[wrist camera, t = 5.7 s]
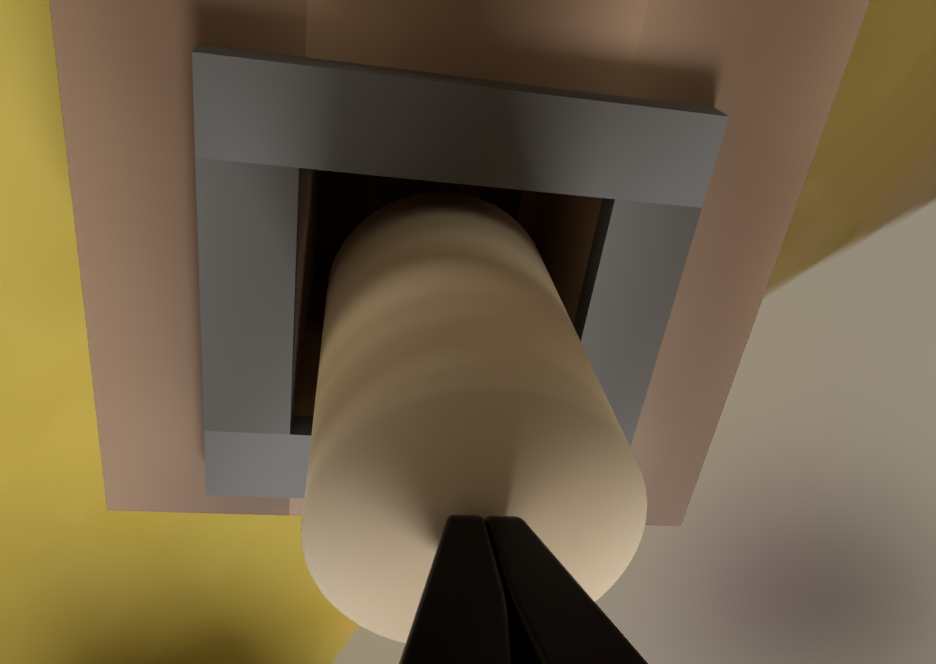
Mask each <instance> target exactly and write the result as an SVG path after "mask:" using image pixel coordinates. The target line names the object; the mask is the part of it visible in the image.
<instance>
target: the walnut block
mask: <svg viewBox="0 0 936 664" xmlns="http://www.w3.org/2000/svg"><path fill="white" fill-rule="evenodd" d="M49 1H50V10H51V19H52V28H53V37H54V45H55V54H56V63H57V72H58V81H59V90H60V98H61V107H62V116H63V125H64V134H65V143H66V151H67V160H68V169H69V178H70V187H71V195H72V204H73V213H74V222H75V231H76V240H77V248H78V257H79V266H80V275H81V284H82V293H83V301H84V310H85V319H86V328H87V337H88V346H89V354H90V363H91V372H92V381H93V390H94V399H95V407H96V416H97V425H98V434H99V443H100V452H101V460H102V469H103V478H104V487H105V496H106V505H107V510H114V511H151V512H187V513H224V514H260V515H297V516H303V509H304V500H305V490H306V481H307V472H308V463H309V454H310V444H311V435H312V426H313V417H314V408H315V398H316V389H317V380H318V371H319V362H320V352H321V343H322V334H323V325H324V316H325V306H326V297H327V288H328V281H329V279H322V278H313V271H314V249H315V228H316V206H317V184H318V170H326V171H336V172H346V173H356V174H366V175H376V176H386V177H396V178H406V179H416V180H426V181H436V182H446V183H456V184H466V185H476V186H487V187H497V188H507V189H517V190H522V196H521V202H520V207H519V213H518V218H517V222H518V223H519V224H520V225H521V226H522V227H523V228H524V230H525V231H526V232H527V233H528V234H529V236H530V237H531V239H532V240H533V242H534V243H535V245H536V248H537V250H538V252H539V254H540V256H541V258H542V260H543V262H544V264H545V267H546V269H547V271H548V273H549V275H550V277H551V279H552V282H553V284H554V286H555V288H556V290H557V292H558V294H559V297H560V299H561V301H562V303H563V305H564V307H565V309H566V311H567V314H568V316H569V318H570V320H571V322H572V324H573V326H574V329H575V331H576V333H577V335H578V337H579V339H580V341H581V344H582V346H583V348H584V350H585V352H586V354H587V356H588V358H589V361H590V363H591V365H592V367H593V369H594V371H595V373H596V376H597V378H598V380H599V382H600V384H601V386H602V388H603V391H604V393H605V395H606V397H607V399H608V401H609V403H610V405H611V408H612V410H613V412H614V414H615V416H616V418H617V420H618V423H619V425H620V427H621V429H622V431H623V433H624V435H625V438H626V440H627V442H628V444H629V446H630V448H631V450H632V453H633V455H634V457H635V459H636V461H637V463H638V465H639V467H640V470H641V472H642V476H643V479H644V483H645V487H646V496H647V514H646V523H645V525H662V526H681V524H682V521H683V518H684V516H685V513H686V510H687V507H688V504H689V501H690V499H691V496H692V493H693V491H694V488H695V485H696V482H697V480H698V477H699V474H700V471H701V468H702V465H703V463H704V460H705V457H706V454H707V452H708V449H709V446H710V443H711V441H712V438H713V435H714V432H715V429H716V427H717V424H718V421H719V418H720V415H721V413H722V410H723V407H724V404H725V402H726V399H727V396H728V393H729V390H730V388H731V385H732V382H733V380H734V377H735V374H736V371H737V368H738V366H739V363H740V360H741V357H742V355H743V352H744V349H745V346H746V344H747V341H748V338H749V335H750V332H751V330H752V327H753V324H754V321H755V318H756V316H757V313H758V310H759V307H760V305H761V302H762V299H763V296H764V294H765V291H766V288H767V285H768V282H769V280H770V277H771V274H772V271H773V269H774V266H775V263H776V260H777V258H778V255H779V252H780V249H781V246H782V244H783V241H784V238H785V235H786V233H787V230H788V227H789V224H790V221H791V219H792V216H793V213H794V210H795V208H796V205H797V202H798V199H799V196H800V194H801V191H802V188H803V185H804V183H805V180H806V177H807V174H808V172H809V169H810V166H811V163H812V160H813V158H814V155H815V152H816V149H817V147H818V144H819V141H820V138H821V135H822V133H823V130H824V127H825V124H826V122H827V119H828V116H829V113H830V110H831V108H832V105H833V102H834V99H835V97H836V94H837V91H838V88H839V85H840V83H841V80H842V77H843V74H844V72H845V69H846V66H847V63H848V61H849V58H850V55H851V52H852V49H853V47H854V44H855V41H856V38H857V36H858V33H859V30H860V27H861V24H862V22H863V19H864V16H865V13H866V11H867V8H868V5H869V2H870V0H49Z"/></svg>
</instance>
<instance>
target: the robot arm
mask: <svg viewBox="0 0 936 664" xmlns="http://www.w3.org/2000/svg"><path fill="white" fill-rule="evenodd" d="M399 664H648V663H647V662H646V661H645V660H644V659H643V657H642V656H641V655H640V654H639V653H638V652H637V650H636V649H635V648H634V647H633V646H632V645H631V643H629V641H628V640H627V639H626V638H625V637H624V635H623V634H622V633H621V632H620V631H619V630H618V628H617V627H616V626H615V625H614V624H613V623H612V622H611V620H610V619H609V618H608V617H607V616H606V615H605V614H604V613H603V611H602V610H601V609H600V608H599V607H598V605H597V604H596V603H595V602H594V601H593V599H592V598H591V597H590V596H589V595H588V594H587V593H586V591H585V590H584V589H583V588H582V587H581V586H580V584H579V583H578V582H577V581H576V580H575V579H574V577H573V576H572V575H571V574H570V573H569V572H568V571H567V569H566V568H565V567H564V566H563V565H562V564H561V562H560V561H559V560H558V559H557V558H556V557H555V555H554V554H553V553H552V552H551V551H550V550H549V549H548V547H547V546H546V545H545V544H544V543H543V542H542V540H541V539H540V538H539V537H538V536H537V535H536V533H535V532H534V531H533V530H532V529H531V528H530V527H529V525H528V524H527V523H526V522H525V521H524V520H523V519H521V518H520V517H517V516H489V517H487V518H485V520H484V518H483V517H481V516H479V515H450V516H449V517H448V518H447V520H446V523H445V526H444V529H443V532H442V535H441V538H440V541H439V544H438V547H437V550H436V553H435V556H434V559H433V562H432V565H431V568H430V571H429V574H428V577H427V580H426V583H425V587H424V590H423V593H422V596H421V599H420V602H419V605H418V608H417V611H416V614H415V617H414V620H413V623H412V626H411V629H410V632H409V635H408V638H407V641H406V644H405V647H404V650H403V653H402V656H401V660H400V662H399Z"/></svg>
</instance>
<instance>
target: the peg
mask: <svg viewBox="0 0 936 664" xmlns="http://www.w3.org/2000/svg"><path fill="white" fill-rule="evenodd" d="M646 514H647V496H646V487H645V483H644V479H643V476H642V472H641V470H640V467H639V465H638V463H637V461H636V459H635V457H634V455H633V453H632V450H631V448H630V446H629V444H628V442H627V440H626V438H625V435H624V433H623V431H622V429H621V427H620V425H619V423H618V420H617V418H616V416H615V414H614V412H613V410H612V408H611V405H610V403H609V401H608V399H607V397H606V395H605V393H604V391H603V388H602V386H601V384H600V382H599V380H598V378H597V376H596V373H595V371H594V369H593V367H592V365H591V363H590V361H589V358H588V356H587V354H586V352H585V350H584V348H583V346H582V344H581V341H580V339H579V337H578V335H577V333H576V331H575V329H574V326H573V324H572V322H571V320H570V318H569V316H568V314H567V311H566V309H565V307H564V305H563V303H562V301H561V299H560V297H559V294H558V292H557V290H556V288H555V286H554V284H553V282H552V279H551V277H550V275H549V273H548V271H547V269H546V267H545V264H544V262H543V260H542V258H541V256H540V254H539V252H538V250H537V248H536V245H535V243H534V242H533V240H532V239H531V237H530V236H529V234H528V233H527V232H526V231H525V230H524V228H523V227H522V226H521V225H520V224H519V223H518V222H517V221H516V220H515V219H513V218H512V217H511V216H510V215H509V214H507V213H506V212H504V211H503V210H501V209H499V208H498V207H496V206H494V205H492V204H490V203H488V202H485V201H483V200H481V199H477V198H474V197H471V196H467V195H461V194H455V193H427V194H419V195H415V196H410V197H406V198H403V199H401V200H398V201H395V202H392V203H390V204H388V205H386V206H384V207H382V208H380V209H378V210H377V211H376V212H374V213H373V214H371V215H370V216H368V217H367V218H366V219H364V220H363V221H362V222H361V223H360V224H359V225H358V226H357V227H356V228H355V229H354V230H353V231H352V232H351V233H350V235H349V236H348V237H347V238H346V239H345V241H344V243H343V244H342V246H341V247H340V249H339V250H338V253H337V255H336V257H335V259H334V262H333V264H332V268H331V271H330V275H329V281H328V288H327V297H326V306H325V316H324V325H323V334H322V343H321V352H320V362H319V371H318V380H317V389H316V398H315V408H314V417H313V426H312V435H311V444H310V454H309V463H308V472H307V481H306V490H305V500H304V509H303V518H302V527H301V533H302V548H303V552H304V557H305V561H306V564H307V567H308V569H309V571H310V574H311V576H312V578H313V580H314V581H315V583H316V585H317V586H318V588H319V589H320V591H321V592H322V594H323V595H324V596H325V597H326V598H327V599H328V600H329V601H330V603H331V604H332V605H333V606H334V607H335V608H337V609H338V610H339V611H340V612H341V613H343V614H344V615H345V616H346V617H347V618H349V619H351V620H352V621H354V622H355V623H357V624H358V625H360V626H361V627H364V628H365V629H368V630H370V631H372V632H374V633H376V634H378V635H381V636H383V637H386V638H389V639H392V640H395V641H398V642H402V643H406V641H407V638H408V635H409V632H410V629H411V626H412V623H413V620H414V617H415V614H416V611H417V608H418V605H419V602H420V599H421V596H422V593H423V590H424V587H425V583H426V580H427V577H428V574H429V571H430V568H431V565H432V562H433V559H434V556H435V553H436V550H437V547H438V544H439V541H440V538H441V535H442V532H443V529H444V526H445V523H446V520H447V518H448V517H449V516H450V515H479V516H481V517H483V518H484V520H485V518H487V517H489V516H517V517H520V518H521V519H523V520H524V521H525V522H526V523H527V524H528V525H529V527H530V528H531V529H532V530H533V531H534V532H535V533H536V535H537V536H538V537H539V538H540V539H541V540H542V542H543V543H544V544H545V545H546V546H547V547H548V549H549V550H550V551H551V552H552V553H553V554H554V555H555V557H556V558H557V559H558V560H559V561H560V562H561V564H562V565H563V566H564V567H565V568H566V569H567V571H568V572H569V573H570V574H571V575H572V576H573V577H574V579H575V580H576V581H577V582H578V583H579V584H580V586H581V587H582V588H583V589H584V590H585V591H586V593H587V594H588V595H589V596H590V597H591V598H592V599H593V601H594V602H595V601H596V600H597V599H599V598H600V597H601V596H602V595H603V594H604V593H605V592H606V591H607V590H608V589H609V588H610V587H611V586H612V585H613V584H614V583H615V582H616V581H617V580H618V578H619V577H620V576H621V574H622V573H623V572H624V571H625V569H626V568H627V566H628V564H629V563H630V561H631V559H632V558H633V556H634V554H635V552H636V550H637V548H638V545H639V543H640V540H641V538H642V534H643V531H644V527H645V523H646Z"/></svg>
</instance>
